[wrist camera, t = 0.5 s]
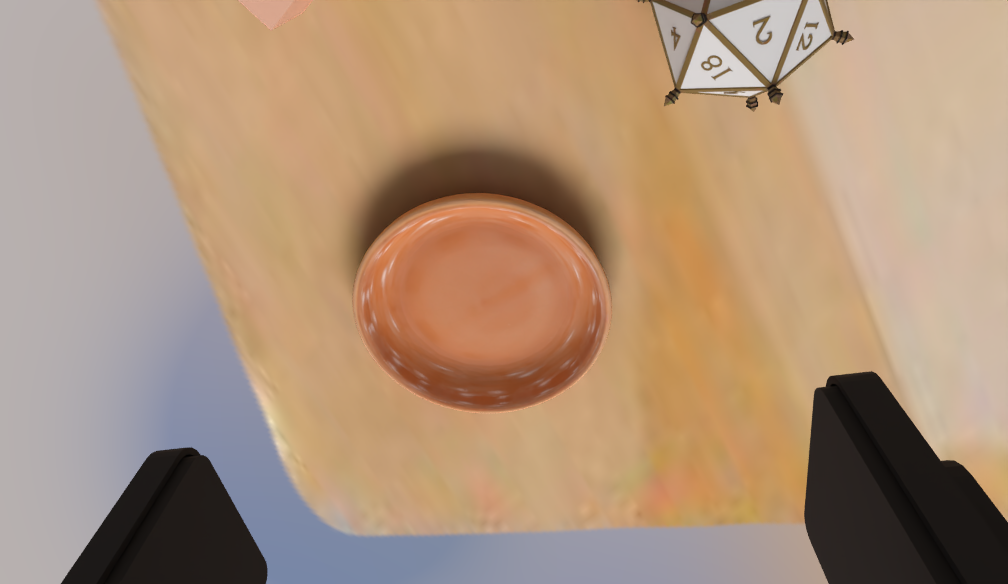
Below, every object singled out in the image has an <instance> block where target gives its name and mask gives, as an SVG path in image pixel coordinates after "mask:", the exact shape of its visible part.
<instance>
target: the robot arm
mask: <svg viewBox="0 0 1008 584" xmlns="http://www.w3.org/2000/svg"><path fill="white" fill-rule="evenodd" d="M804 517H805V524H806V529H807V533H808V536H809V539H810V541H811V544H812V546H813V548H814V551H815V553H816V555H817V558H818V560H819V562H820V564H821V567H822V569H823V571H824V574H825V576H826V578H827V581H828V583H829V584H1008V522H1007V521H1006V519H1005V518H1004V517H1003V515H1002V514H1001V513H1000V512H999V510H998V509H997V508H996V506H995V505H994V504H993V502H992V501H991V500H990V498H989V497H988V496H987V494H986V493H985V492H984V491H983V489H982V488H981V487H980V485H979V484H978V483H977V481H976V480H975V479H974V477H973V476H972V475H971V474H970V473H969V472H968V471H967V470H966V468H965V467H964V466H963V465H961V464H959V463H957V462H956V461H950V460H946V461H940V459H939V458H938V457H937V455H936V454H935V453H934V451H933V450H932V448H931V447H930V446H929V444H928V443H927V442H926V440H925V439H924V437H923V436H922V435H921V433H920V432H919V430H918V429H917V428H916V426H915V425H914V424H913V422H912V421H911V419H910V418H909V417H908V415H907V414H906V413H905V411H904V410H903V408H902V407H901V406H900V404H899V403H898V402H897V400H896V399H895V397H894V396H893V395H892V393H891V392H890V391H889V389H888V388H887V386H886V385H885V384H884V382H883V381H882V379H881V378H880V377H879V376H878V375H877V374H876V373H874V372H872V371H871V372H862V373H853V374H844V375H835V376H830V377H829V378H828V380H827V383H826V387H821V388H816V390H815V393H814V401H813V414H812V426H811V438H810V450H809V463H808V475H807V487H806V499H805V512H804ZM266 580H267V564H266V561H265V559H264V557H263V555H262V554H261V552H260V550H259V548H258V546H257V545H256V543H255V541H254V539H253V537H252V536H251V534H250V532H249V530H248V528H247V527H246V525H245V523H244V522H243V520H242V518H241V516H240V514H239V512H238V511H237V509H236V507H235V505H234V503H233V502H232V500H231V498H230V496H229V494H228V493H227V491H226V489H225V487H224V485H223V484H222V482H221V480H220V478H219V477H218V475H217V473H216V471H215V469H214V467H213V466H212V464H211V462H210V460H209V459H208V458H207V457H206V456H204V455H200V454H199V452H198V451H197V450H195V449H193V448H179V449H170V450H161V451H156V452H154V453H151V454H150V455H149V457H148V458H147V459H146V460H145V462H144V463H143V465H142V466H141V468H140V469H139V470H138V472H137V473H136V475H135V476H134V478H133V479H132V481H131V482H130V484H129V485H128V487H127V488H126V490H125V491H124V493H123V494H122V495H121V497H120V498H119V500H118V501H117V503H116V504H115V505H114V507H113V508H112V510H111V511H110V513H109V514H108V516H107V517H106V519H105V520H104V521H103V523H102V525H101V526H100V527H99V529H98V531H97V532H96V533H95V535H94V536H93V538H92V539H91V540H90V542H89V543H88V545H87V546H86V548H85V549H84V551H83V552H82V554H81V555H80V556H79V558H78V559H77V561H76V562H75V564H74V565H73V567H72V568H71V570H70V571H69V572H68V574H67V575H66V577H65V579H64V580H63V581H62V583H61V584H266Z"/></svg>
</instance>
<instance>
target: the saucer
mask: <svg viewBox="0 0 1008 584" xmlns="http://www.w3.org/2000/svg"><path fill="white" fill-rule="evenodd" d="M353 312H354V318H355V322H356V326H357V329H358V332H359V334H360V337H361V339H362V341H363V343H364V345H365V347H366V349H367V351H368V352H369V354H370V355H371V357H372V358H373V359H374V361H375V362H376V363H377V364H378V365H379V367H380V368H381V369H382V370H383V371H384V372H385V373H386V374H387V375H388V376H389V377H390V378H392V379H393V380H394V381H395V382H397V383H398V384H399V385H401V386H402V387H403V388H405V389H406V390H408V391H410V392H411V393H413V394H415V395H417V396H418V397H420V398H422V399H425V400H427V401H429V402H432V403H434V404H437V405H440V406H443V407H447V408H451V409H455V410H460V411H466V412H473V413H503V412H511V411H516V410H521V409H525V408H529V407H533V406H536V405H539V404H541V403H544V402H546V401H548V400H551V399H552V398H554V397H556V396H558V395H560V394H561V393H563V392H565V391H566V390H567V389H569V388H570V387H572V386H573V385H574V384H575V383H576V382H578V381H579V380H580V379H581V378H582V377H583V376H584V375H585V374H586V373H587V372H588V370H589V369H590V368H591V367H592V365H593V364H594V363H595V361H596V359H597V358H598V356H599V354H600V353H601V351H602V349H603V347H604V344H605V342H606V339H607V336H608V333H609V330H610V325H611V318H612V300H611V292H610V288H609V284H608V280H607V277H606V275H605V272H604V270H603V268H602V266H601V264H600V262H599V260H598V258H597V256H596V255H595V253H594V252H593V250H592V249H591V247H590V246H589V244H588V243H587V242H586V241H585V240H584V239H583V237H582V236H581V235H580V234H579V233H578V232H577V231H576V230H575V229H574V228H572V227H571V226H570V225H569V224H568V223H566V222H565V221H564V220H562V219H561V218H559V217H558V216H556V215H555V214H553V213H551V212H550V211H548V210H546V209H544V208H541V207H539V206H537V205H535V204H532V203H530V202H527V201H524V200H521V199H517V198H514V197H510V196H504V195H499V194H489V193H465V194H457V195H451V196H446V197H442V198H438V199H435V200H432V201H429V202H426V203H424V204H421V205H419V206H417V207H415V208H413V209H411V210H409V211H408V212H406V213H404V214H403V215H401V216H400V217H398V218H397V219H396V220H394V221H393V222H392V223H391V224H390V225H389V226H388V227H386V229H385V230H384V231H383V232H382V233H381V234H380V235H379V236H378V237H377V238H376V239H375V241H374V242H373V243H372V244H371V246H370V247H369V248H368V250H367V252H366V253H365V255H364V257H363V259H362V261H361V263H360V265H359V268H358V270H357V273H356V277H355V281H354V287H353Z"/></svg>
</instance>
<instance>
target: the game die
mask: <svg viewBox="0 0 1008 584" xmlns="http://www.w3.org/2000/svg"><path fill="white" fill-rule="evenodd" d="M639 1H642V2H643V3H644V2H647V1H649V2H650V3H651V6H652V10H653V13H654V17H655V20H656V24H657V27H658V31H659V34H660V38H661V41H662V44H663V48H664V51H665V55H666V58H667V62H668V65H669V69H670V72H671V76H672V79H673V83H674V86H675V89H674V90H673V91H670V92H669V94H668V95H666V96H665V97H666V99H665V103H664V106H666V105H669V104H672V103H674V104H675V101H676V99H677V100H678V96H679V94H680V93H692V94H706V95H719V96H733V97H746V98H748V99H747V101H746V103H747V105H746V107H748V108H750V109H751V110H752V111H753V112H754V111H755V109H756V107H758V102H757V98H756V97H755V96H757V95H759V94H762V93H764V92H767V91H768V93H767V94H768V96H769V99H770V101H771V103H772V102H774V103H776V104H778V105H779V104H780V100H781V97H782V95H783V93H781V92H780V91H781V89H778V88H777V86H778V85H779V84H780V83H781V82H782V81H784V80H785V79H786V78H787V77H788V76H789V75H791V74H792V73H793V72H794V71H795V70H796V69H798V68H799V67H800V66H801V65H802V64H803V63H805V62H806V61H807V60H808V59H809V58H810V57H811V56H813V55H814V54H815V53H816V52H817V51H818V50H820V49H821V48H822V47H823V46H824V45H825V44H827V43H828V42H829V41H830V40H835V41H836V42H837V43H838V42H840V43H842V45H843V44H844V43H846V42H849V41H852V40H854V39H853V37H852V36H851V35H850V34H849V33H848V32H849V31H847V32H843V30H841V31H839V32H836V31H835V30H834V26H833V22H832V18H831V14H830V10H829V6H828V2H827V0H638V2H639Z"/></svg>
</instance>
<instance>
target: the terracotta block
mask: <svg viewBox="0 0 1008 584" xmlns="http://www.w3.org/2000/svg"><path fill="white" fill-rule="evenodd" d="M238 1H239V2H240V3H241V4H242V5H244V6H245V7H246V8H247V9H248V10H249V11H250V12H251V13H252V14H253V15H255V16H256V17H257V18H258V19H259V20H260V21H261V22H262V23H263V24H264V25H265V26H267V27H268V28H269V29H270V30H273V29H275V28H277V27H279V26H280V25H282V24H284V23H286V22H288V21H289V20H291V19H293V18H295V17H297V16H298V15H300V14H302V13H303V12H304V11H305V10H306V8H307V7H308V6H309V5H310V3H311V2H312V1H313V0H238Z"/></svg>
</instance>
